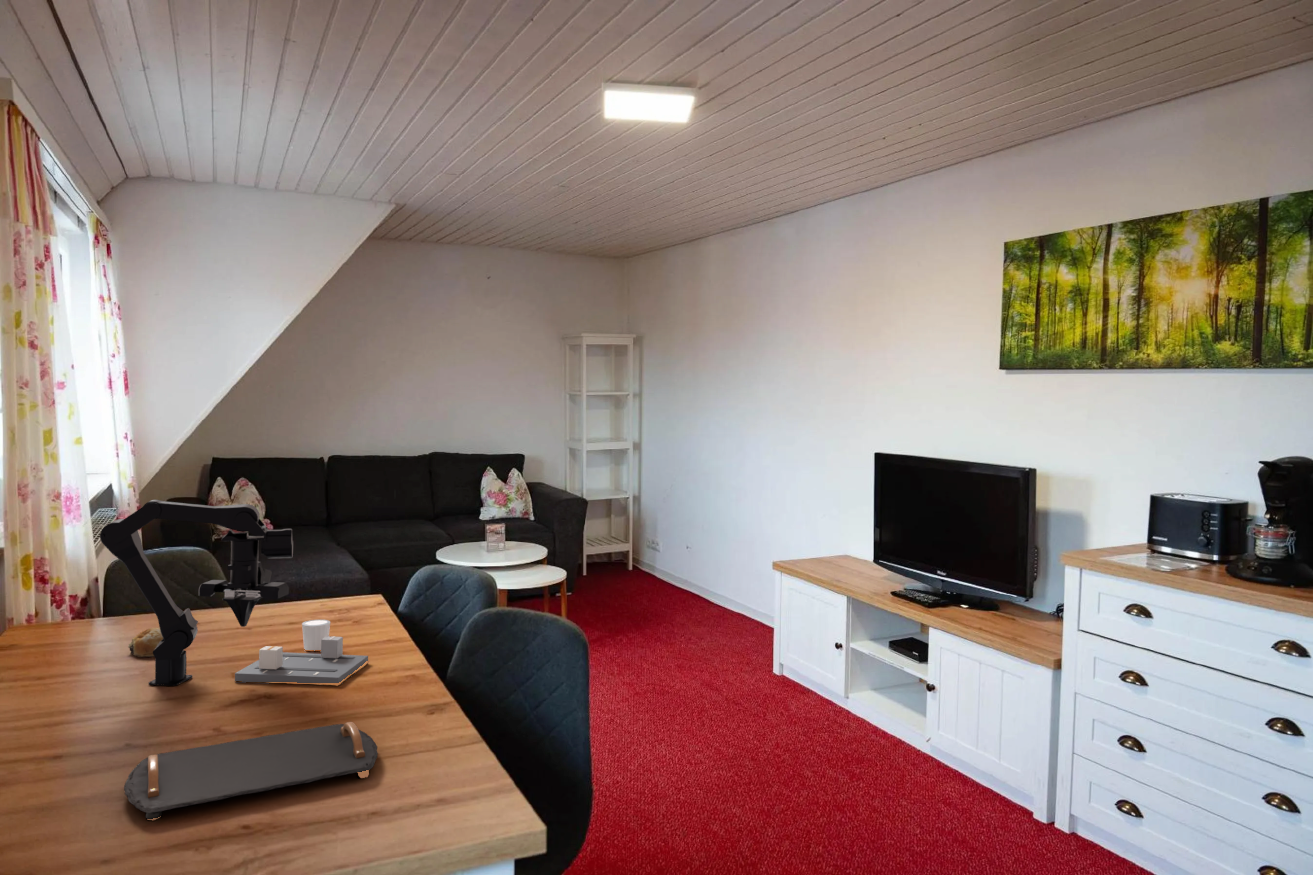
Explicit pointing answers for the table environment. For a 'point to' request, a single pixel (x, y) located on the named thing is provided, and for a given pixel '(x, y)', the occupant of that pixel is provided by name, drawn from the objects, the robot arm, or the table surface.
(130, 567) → the robot arm
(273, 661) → the block
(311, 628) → the white cup
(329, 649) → the fader
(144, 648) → the bread roll
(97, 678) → the table surface
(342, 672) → the console
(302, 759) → the serving board
